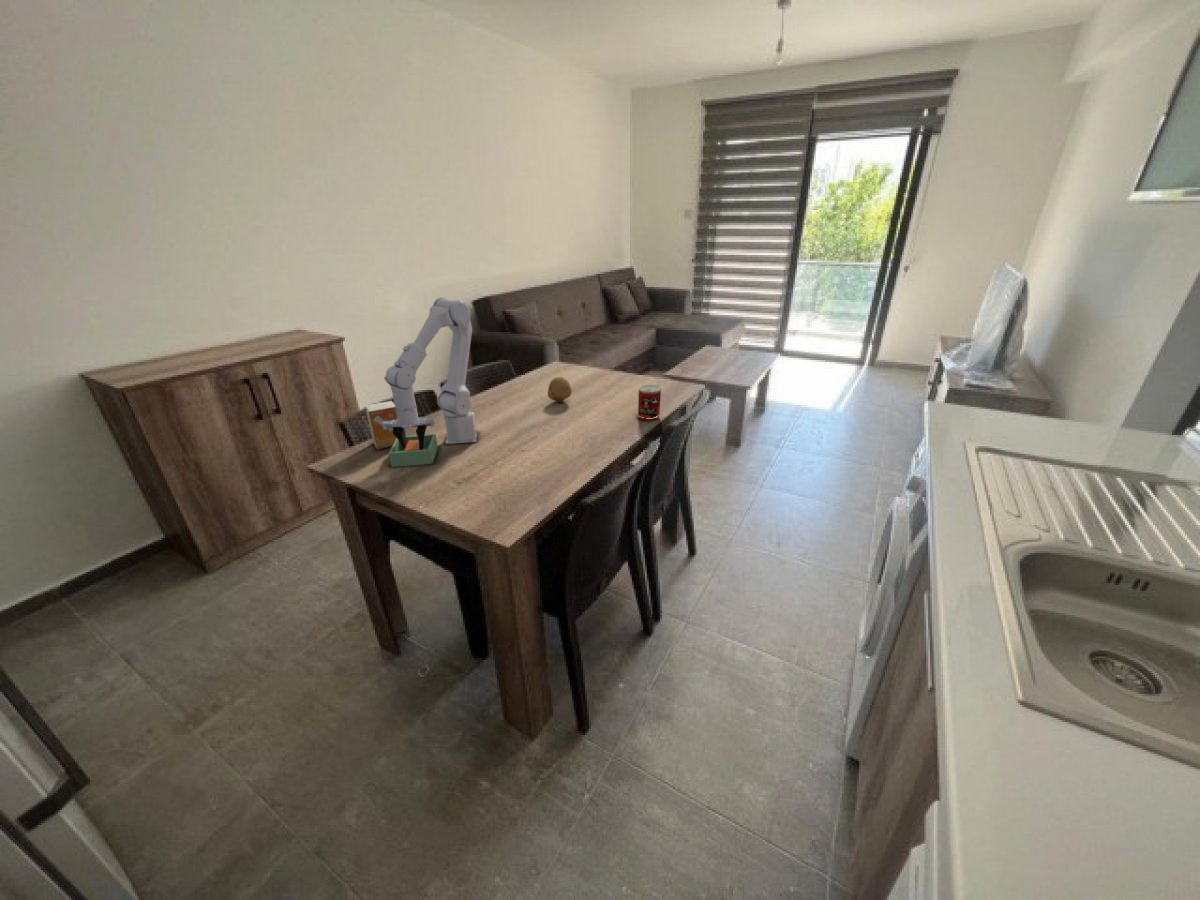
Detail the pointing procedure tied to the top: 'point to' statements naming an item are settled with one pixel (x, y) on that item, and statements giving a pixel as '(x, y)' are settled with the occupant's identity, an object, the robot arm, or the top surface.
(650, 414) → the canned food
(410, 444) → the packet
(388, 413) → the small box
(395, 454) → the green open-top bin
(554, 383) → the natural sponge
